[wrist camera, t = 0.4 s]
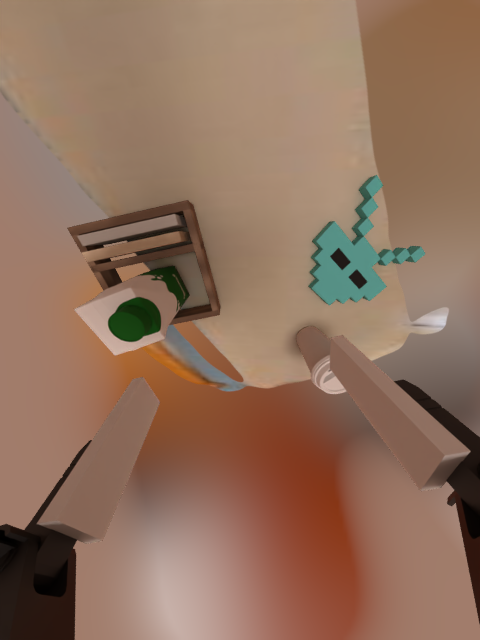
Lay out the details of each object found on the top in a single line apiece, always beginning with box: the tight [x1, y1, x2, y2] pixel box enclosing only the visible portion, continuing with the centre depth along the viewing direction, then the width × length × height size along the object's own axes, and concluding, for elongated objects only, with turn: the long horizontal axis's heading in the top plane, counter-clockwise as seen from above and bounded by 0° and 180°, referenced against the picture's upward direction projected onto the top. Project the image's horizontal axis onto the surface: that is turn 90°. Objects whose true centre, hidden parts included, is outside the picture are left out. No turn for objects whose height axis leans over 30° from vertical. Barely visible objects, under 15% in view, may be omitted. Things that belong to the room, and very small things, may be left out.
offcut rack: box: [68, 200, 220, 325], centre depth 34 cm, size 21×20×4 cm
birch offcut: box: [82, 231, 191, 262], centre depth 30 cm, size 2×16×8 cm, turn 101°
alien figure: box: [309, 175, 425, 305], centre depth 36 cm, size 20×2×20 cm
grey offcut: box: [77, 214, 187, 246], centre depth 30 cm, size 2×16×6 cm, turn 101°
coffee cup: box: [296, 326, 346, 394], centre depth 39 cm, size 10×10×15 cm
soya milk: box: [74, 266, 189, 355], centre depth 28 cm, size 9×9×20 cm
